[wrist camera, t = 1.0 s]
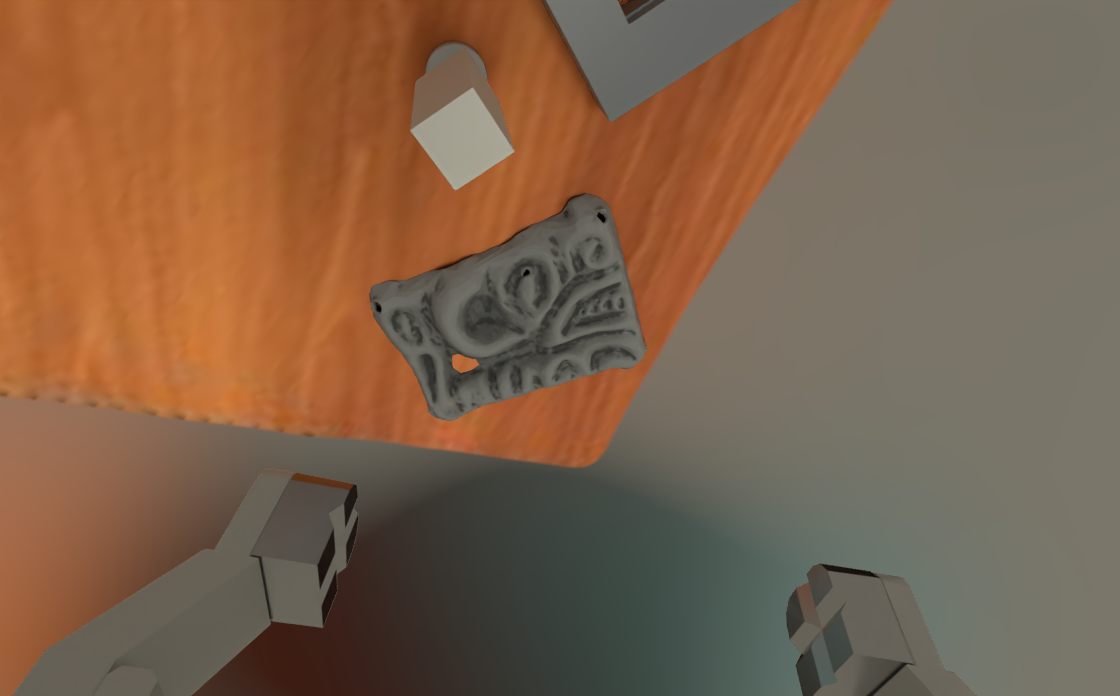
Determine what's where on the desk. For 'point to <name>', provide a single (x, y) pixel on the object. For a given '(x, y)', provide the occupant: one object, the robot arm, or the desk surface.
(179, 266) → the desk surface
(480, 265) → the wall plaque
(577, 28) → the keyhole plate
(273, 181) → the desk surface
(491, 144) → the post
